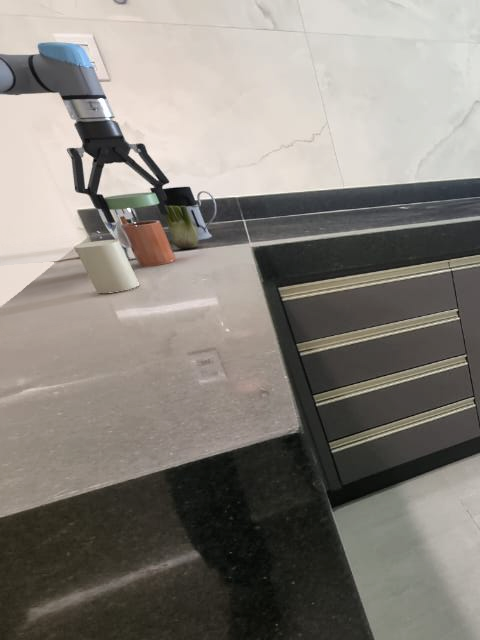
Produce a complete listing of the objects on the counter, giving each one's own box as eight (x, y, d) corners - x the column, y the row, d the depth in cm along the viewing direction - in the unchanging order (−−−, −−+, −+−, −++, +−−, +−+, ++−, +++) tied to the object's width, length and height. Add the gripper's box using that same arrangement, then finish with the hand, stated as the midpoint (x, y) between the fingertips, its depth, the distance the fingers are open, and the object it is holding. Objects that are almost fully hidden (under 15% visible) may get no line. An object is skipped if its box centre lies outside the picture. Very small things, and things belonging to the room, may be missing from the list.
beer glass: (137, 254, 147) (111, 198, 140) (161, 253, 146) (136, 197, 140) (114, 260, 140) (86, 202, 134) (138, 260, 140) (112, 201, 134)
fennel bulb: (205, 246, 152) (188, 203, 147) (189, 250, 148) (171, 207, 143) (188, 246, 153) (170, 204, 148) (172, 250, 149) (153, 207, 144)
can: (103, 296, 111) (79, 248, 106) (92, 291, 114) (69, 245, 110) (144, 286, 116) (123, 241, 112) (133, 282, 119) (112, 238, 115)
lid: (114, 210, 124) (109, 199, 123) (100, 208, 129) (95, 197, 128) (166, 203, 132) (161, 193, 130) (150, 201, 137) (146, 191, 135)
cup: (145, 267, 132) (127, 227, 127) (134, 264, 135) (116, 225, 131) (181, 260, 137) (164, 221, 133) (169, 257, 141) (153, 219, 137)
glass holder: (189, 236, 168) (168, 187, 161) (236, 233, 169) (218, 184, 162) (170, 242, 160) (148, 191, 153) (219, 239, 161) (199, 188, 155)
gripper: (30, 122, 112) (84, 228, 121) (160, 117, 129) (198, 210, 138) (21, 123, 115) (74, 226, 125) (148, 118, 132) (186, 209, 142)
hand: (139, 218), depth 132 cm, fingers closed on lid, 10 cm apart
